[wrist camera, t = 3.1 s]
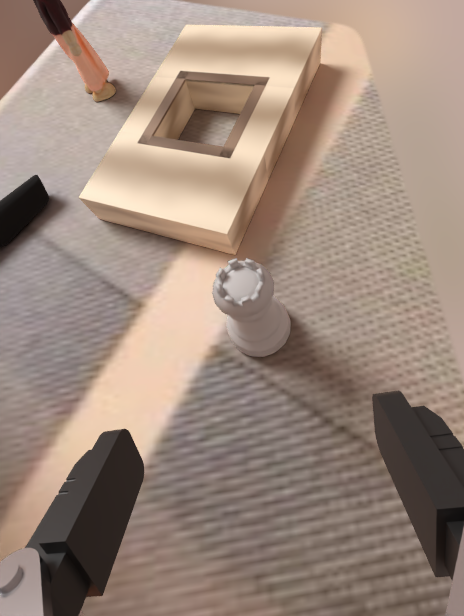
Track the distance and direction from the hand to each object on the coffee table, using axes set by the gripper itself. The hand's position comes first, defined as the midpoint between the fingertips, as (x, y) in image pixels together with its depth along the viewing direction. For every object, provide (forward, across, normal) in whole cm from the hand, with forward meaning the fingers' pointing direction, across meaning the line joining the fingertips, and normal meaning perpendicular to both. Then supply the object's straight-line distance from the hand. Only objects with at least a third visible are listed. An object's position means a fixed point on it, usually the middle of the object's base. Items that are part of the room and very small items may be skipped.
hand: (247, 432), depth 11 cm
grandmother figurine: (+36, +14, -20) cm, 43 cm away
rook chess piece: (+13, 0, +3) cm, 13 cm away
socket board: (+26, +2, -11) cm, 29 cm away
